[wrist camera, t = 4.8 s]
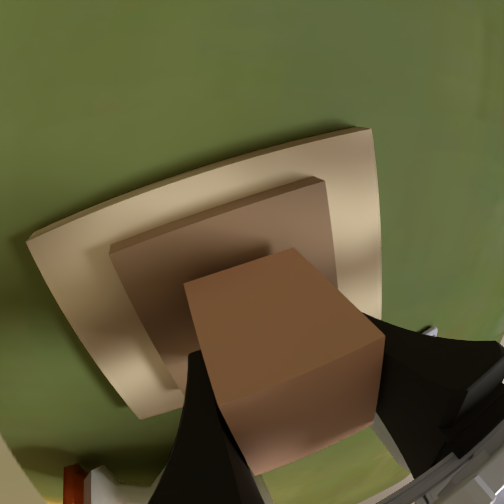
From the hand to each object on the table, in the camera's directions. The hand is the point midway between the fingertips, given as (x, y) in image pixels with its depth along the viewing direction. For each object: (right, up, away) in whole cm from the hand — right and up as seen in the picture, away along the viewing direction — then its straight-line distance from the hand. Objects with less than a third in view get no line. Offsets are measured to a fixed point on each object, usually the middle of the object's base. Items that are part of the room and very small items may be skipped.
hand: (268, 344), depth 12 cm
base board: (-2, +2, +4) cm, 5 cm away
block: (-1, +1, +2) cm, 2 cm away
